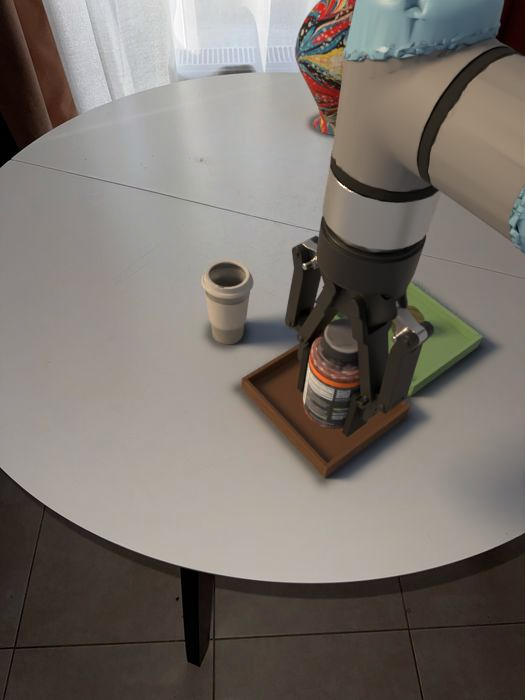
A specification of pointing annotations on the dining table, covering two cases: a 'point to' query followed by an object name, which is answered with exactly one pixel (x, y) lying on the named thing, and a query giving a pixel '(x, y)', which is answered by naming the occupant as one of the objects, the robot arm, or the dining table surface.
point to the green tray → (436, 338)
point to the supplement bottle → (332, 375)
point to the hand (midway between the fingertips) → (331, 405)
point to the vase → (324, 56)
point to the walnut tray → (289, 416)
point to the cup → (227, 298)
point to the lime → (414, 312)
